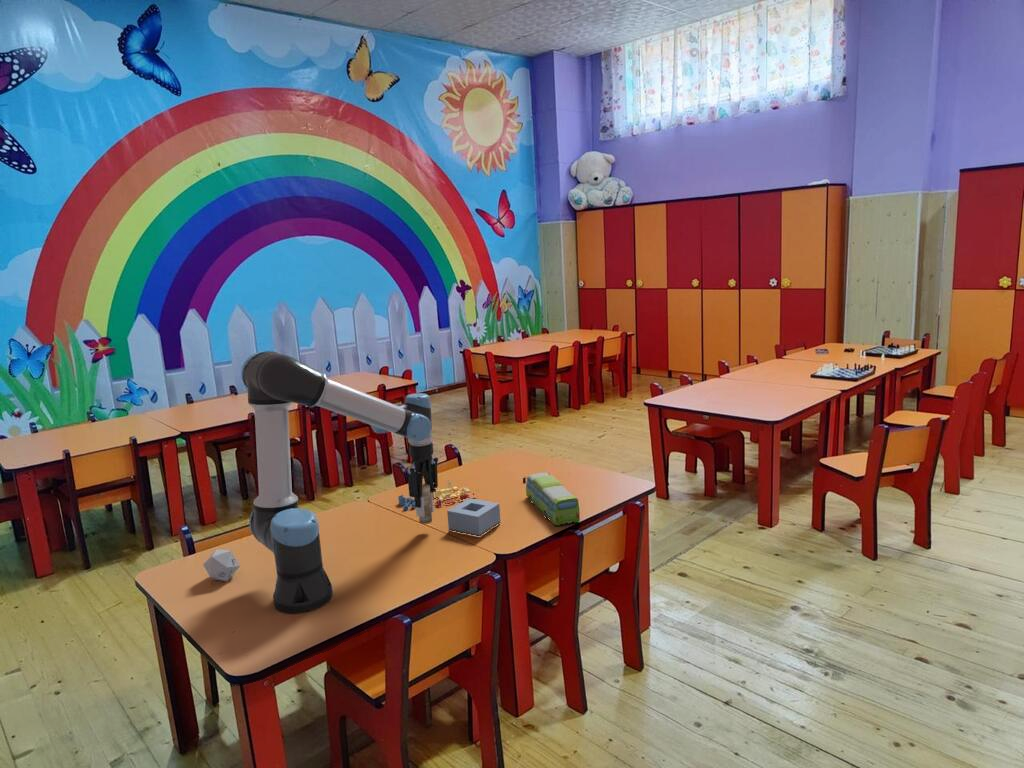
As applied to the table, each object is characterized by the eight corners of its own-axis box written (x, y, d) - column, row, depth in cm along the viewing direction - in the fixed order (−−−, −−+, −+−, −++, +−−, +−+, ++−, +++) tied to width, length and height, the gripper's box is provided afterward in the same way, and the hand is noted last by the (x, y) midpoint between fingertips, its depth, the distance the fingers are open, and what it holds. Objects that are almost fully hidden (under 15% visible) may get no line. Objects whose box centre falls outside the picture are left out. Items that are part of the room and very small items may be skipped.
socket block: (479, 538, 217) (478, 516, 215) (448, 531, 223) (447, 510, 222) (500, 523, 227) (499, 503, 225) (470, 517, 233) (469, 498, 231)
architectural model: (502, 478, 272) (501, 465, 271) (521, 488, 260) (520, 474, 259) (394, 505, 250) (393, 491, 248) (409, 517, 238) (408, 502, 237)
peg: (426, 524, 220) (424, 488, 218) (416, 522, 222) (414, 486, 220) (434, 520, 223) (432, 484, 221) (424, 518, 225) (422, 482, 223)
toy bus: (550, 493, 252) (549, 466, 250) (583, 524, 223) (582, 494, 221) (523, 497, 249) (521, 471, 247) (553, 529, 220) (552, 499, 218)
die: (211, 591, 193) (230, 561, 193) (191, 570, 197) (210, 541, 196) (232, 587, 201) (251, 559, 201) (213, 568, 204) (231, 540, 204)
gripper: (412, 451, 209) (417, 525, 213) (446, 437, 223) (450, 506, 227) (393, 448, 213) (398, 520, 217) (428, 435, 227) (432, 503, 231)
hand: (425, 513), depth 222 cm, fingers closed on peg, 4 cm apart
